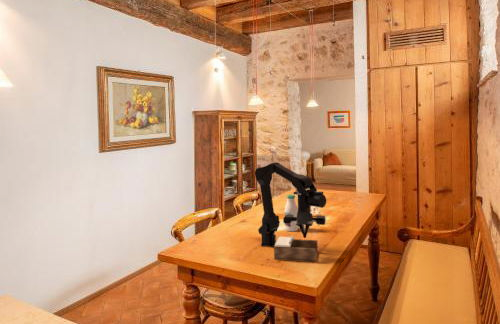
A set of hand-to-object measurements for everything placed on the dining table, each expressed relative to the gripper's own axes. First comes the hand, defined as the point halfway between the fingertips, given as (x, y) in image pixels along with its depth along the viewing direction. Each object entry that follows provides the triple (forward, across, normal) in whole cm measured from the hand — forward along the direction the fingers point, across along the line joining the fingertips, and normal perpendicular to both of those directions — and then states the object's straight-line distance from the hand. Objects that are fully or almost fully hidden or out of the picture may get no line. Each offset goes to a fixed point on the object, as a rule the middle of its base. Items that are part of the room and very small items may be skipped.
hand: (304, 237), depth 171 cm
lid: (+2, -9, -1) cm, 10 cm away
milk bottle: (+9, -12, +38) cm, 41 cm away
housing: (+8, -4, -1) cm, 9 cm away
